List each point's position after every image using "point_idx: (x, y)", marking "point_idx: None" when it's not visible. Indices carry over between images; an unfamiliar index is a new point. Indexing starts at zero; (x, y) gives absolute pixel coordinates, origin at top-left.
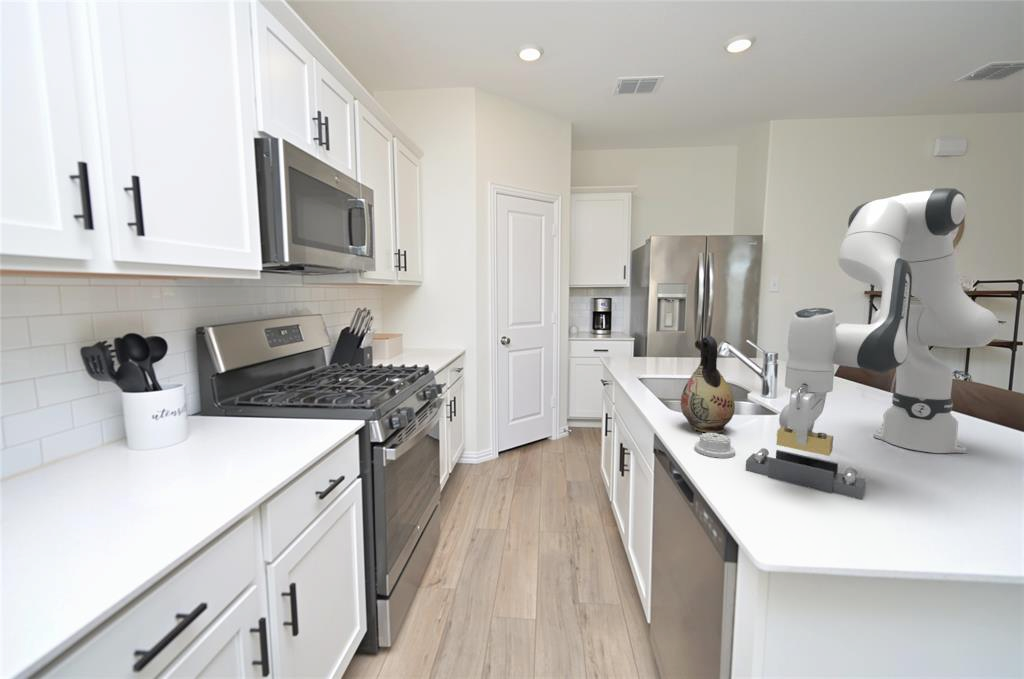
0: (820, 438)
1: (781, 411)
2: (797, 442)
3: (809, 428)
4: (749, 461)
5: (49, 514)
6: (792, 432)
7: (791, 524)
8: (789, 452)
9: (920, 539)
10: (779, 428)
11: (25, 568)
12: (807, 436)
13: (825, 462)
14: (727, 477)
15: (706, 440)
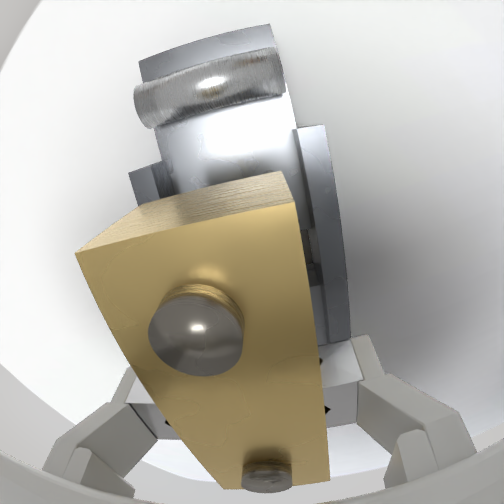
0: (209, 472)
1: None
2: (130, 370)
3: (371, 423)
4: (142, 75)
5: None
6: (157, 367)
7: (15, 320)
8: (334, 193)
9: (167, 443)
10: (164, 230)
11: None
12: (174, 439)
13: (330, 342)
14: (50, 92)
15: None
